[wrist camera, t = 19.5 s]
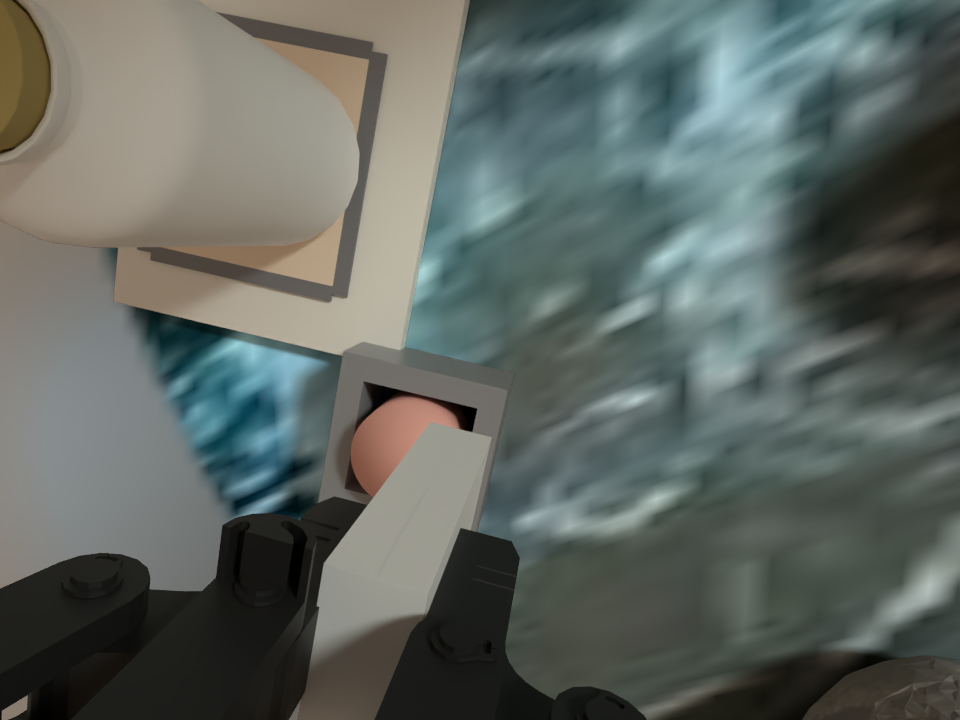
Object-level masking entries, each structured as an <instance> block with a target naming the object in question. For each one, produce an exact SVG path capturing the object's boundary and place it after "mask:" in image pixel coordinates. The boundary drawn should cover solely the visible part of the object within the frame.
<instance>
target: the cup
mask: <svg viewBox="0 0 960 720" xmlns="http://www.w3.org/2000/svg"><path fill="white" fill-rule="evenodd" d="M802 720H960V661H959V660H954V659H948V658H942V657H936V656H915V657H908V658H901V659H894V660H888V661H883V662H881V663H878V664H875V665H872V666H869V667H867V668H864V669H861V670H858V671H855V672H853V673H850V674H848V675H846V676H844V677H843V678H842V679H841V680H840V681H839V682H838V683H837V684H835V685H834V686H833V687H832V688H831V689H830V690H829V691H828V692H827V693H826V694H824V695H823V696H822V697H821V698H820V699H819V700H818V701H817V702H816V703H814V704H813V705H812V706H811V707H810V708H809V710H808V711H807V713H806V714H805V716H804V717H803V719H802Z"/></svg>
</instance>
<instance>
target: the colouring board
mask: <svg viewBox="0 0 960 720" xmlns="http://www.w3.org/2000/svg"><path fill="white" fill-rule="evenodd" d="M198 1H200V2H201V3H203V4H204V5H206V6H207V7H209V8H210V9H212V10H213V11H215V12H216V13H218V14H219V15H221V16H222V17H224V18H225V19H227V20H228V21H230V22H231V23H233V24H234V25H236V26H237V27H239V28H240V29H242V30H243V31H245V32H246V33H248V34H249V35H251V36H252V37H254V38H255V39H257V40H258V41H260V42H261V43H263V44H264V45H266V46H267V47H269V48H270V49H272V50H273V51H275V52H276V53H278V54H279V55H281V56H282V57H284V58H286V59H287V60H289V61H290V62H292V63H293V64H295V65H296V66H298V67H299V68H301V69H302V70H304V71H305V72H307V73H308V74H310V75H311V76H313V77H314V78H316V79H317V80H318V81H320V82H321V83H322V84H323V85H324V86H325V87H326V88H327V89H328V90H329V91H330V92H331V93H332V94H334V95H335V96H336V97H337V98H338V99H339V101H340V103H341V104H342V106H343V108H344V110H345V111H346V113H347V115H348V117H349V118H350V120H351V122H352V124H353V126H354V130H355V135H356V139H357V143H358V148H359V152H360V156H359V171H358V182H357V184H356V187H355V189H354V192H353V195H352V197H351V200H350V203H349V205H348V207H347V208H346V209H345V210H344V212H343V213H342V214H341V215H340V217H339V218H338V219H337V220H336V222H335V223H334V224H333V225H332V226H331V227H329V228H328V229H326V230H325V231H323V232H321V233H320V234H318V235H317V236H315V237H314V238H312V239H310V240H308V241H303V242H299V243H295V244H290V245H286V246H208V247H118V256H117V267H116V278H115V289H114V300H113V302H117V303H122V304H126V305H130V306H134V307H138V308H143V309H147V310H151V311H155V312H160V313H164V314H168V315H172V316H176V317H181V318H185V319H189V320H193V321H197V322H202V323H206V324H210V325H214V326H218V327H223V328H227V329H231V330H235V331H240V332H244V333H248V334H252V335H256V336H261V337H265V338H269V339H273V340H277V341H282V342H286V343H290V344H294V345H298V346H303V347H307V348H311V349H315V350H320V351H324V352H328V353H332V354H336V355H341V356H343V351H345V350H347V349H349V348H351V347H353V346H355V345H357V344H359V343H361V342H367V343H371V344H375V345H379V346H384V347H388V348H392V349H397V350H401V349H403V348H404V347H405V342H406V337H407V332H408V327H409V321H410V316H411V311H412V305H413V300H414V295H415V289H416V284H417V279H418V274H419V268H420V263H421V258H422V252H423V247H424V242H425V236H426V231H427V226H428V220H429V215H430V210H431V205H432V199H433V194H434V189H435V183H436V178H437V173H438V167H439V162H440V157H441V151H442V146H443V141H444V136H445V130H446V125H447V120H448V114H449V109H450V104H451V98H452V93H453V88H454V83H455V77H456V72H457V67H458V61H459V56H460V51H461V45H462V40H463V35H464V29H465V24H466V19H467V14H468V8H469V3H470V0H198Z"/></svg>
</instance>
